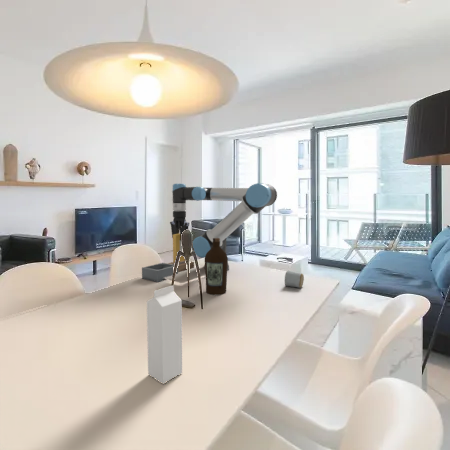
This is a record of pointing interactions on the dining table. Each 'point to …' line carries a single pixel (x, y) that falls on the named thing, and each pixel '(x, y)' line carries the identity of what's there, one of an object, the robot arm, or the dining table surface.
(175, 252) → the yellow rectangular slab
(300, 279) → the grey cylinder
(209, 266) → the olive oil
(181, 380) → the dining table surface
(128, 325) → the dining table surface
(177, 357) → the milk
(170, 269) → the bin
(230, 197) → the robot arm
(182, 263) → the dispenser
